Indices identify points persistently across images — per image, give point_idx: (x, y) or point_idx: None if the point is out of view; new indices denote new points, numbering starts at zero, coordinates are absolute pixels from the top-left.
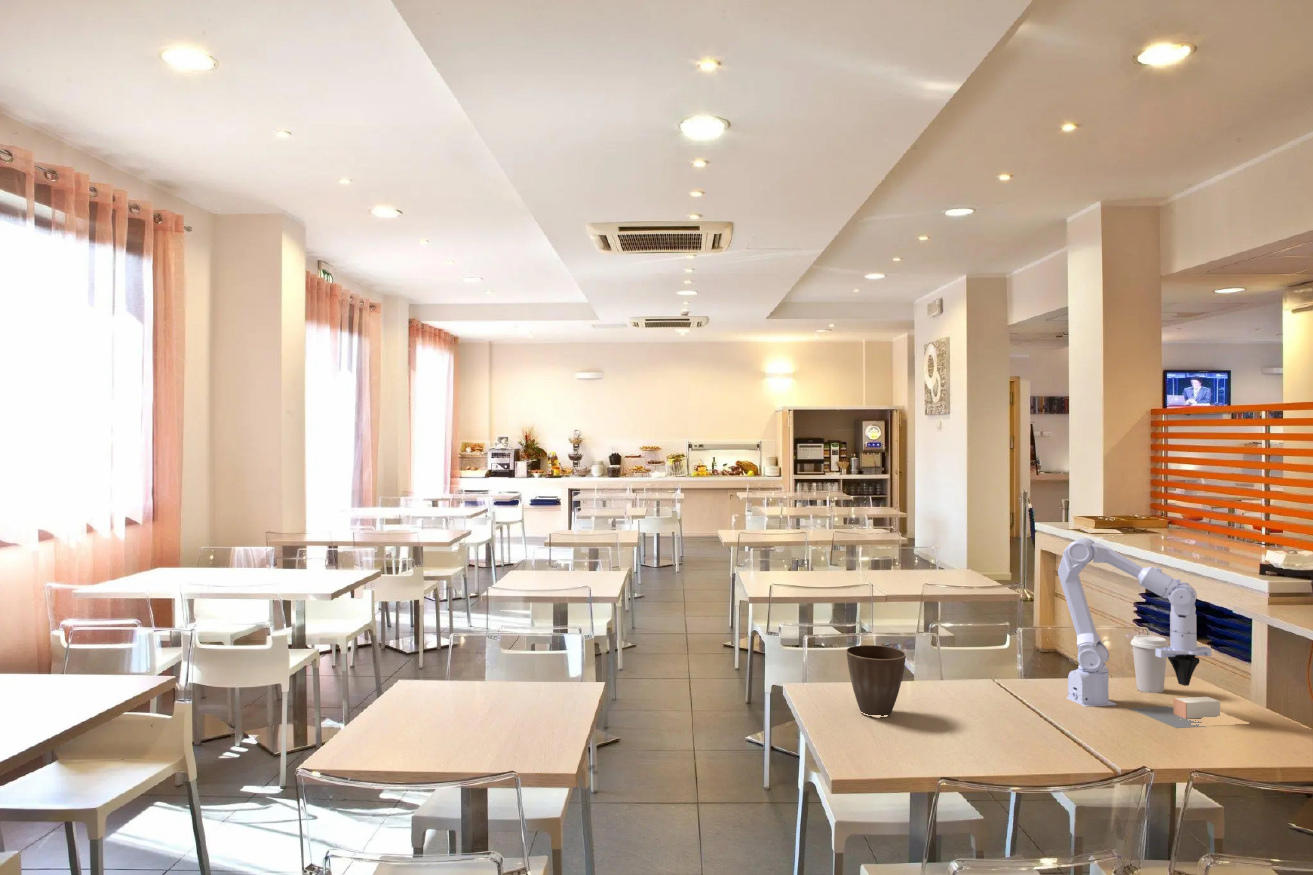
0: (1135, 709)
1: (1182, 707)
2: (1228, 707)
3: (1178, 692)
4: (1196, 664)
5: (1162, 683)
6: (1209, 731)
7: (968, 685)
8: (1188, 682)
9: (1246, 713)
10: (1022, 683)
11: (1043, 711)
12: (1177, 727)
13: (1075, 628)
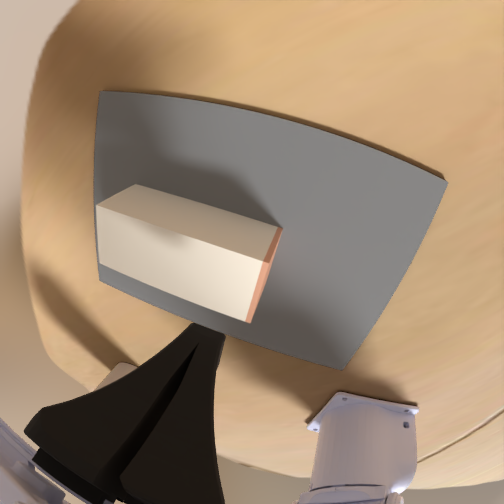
0: (338, 358)
1: (269, 265)
2: (56, 239)
3: (91, 344)
4: (75, 409)
5: (115, 379)
6: (342, 92)
7: (415, 480)
8: (193, 336)
9: (49, 188)
10: None
11: (499, 406)
12: (437, 182)
13: None
